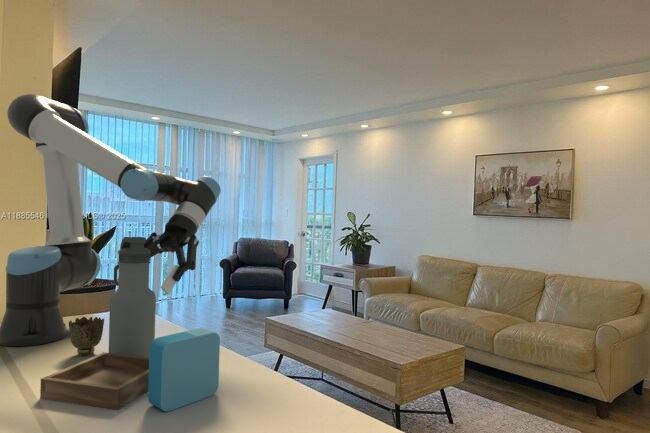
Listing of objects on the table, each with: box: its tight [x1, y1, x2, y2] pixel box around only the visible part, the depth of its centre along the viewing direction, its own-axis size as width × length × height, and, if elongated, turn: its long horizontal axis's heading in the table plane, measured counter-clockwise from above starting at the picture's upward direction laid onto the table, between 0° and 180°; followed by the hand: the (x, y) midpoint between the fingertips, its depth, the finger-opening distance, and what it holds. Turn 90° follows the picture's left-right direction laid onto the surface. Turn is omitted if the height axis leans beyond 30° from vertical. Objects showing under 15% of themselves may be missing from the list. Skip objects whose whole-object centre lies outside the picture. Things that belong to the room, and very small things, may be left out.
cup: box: [68, 316, 105, 356], centre depth 105 cm, size 8×7×8 cm
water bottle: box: [108, 236, 157, 358], centre depth 103 cm, size 10×10×28 cm
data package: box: [147, 327, 221, 413], centre depth 82 cm, size 12×4×12 cm, turn 141°
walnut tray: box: [39, 352, 149, 411], centre depth 86 cm, size 16×16×4 cm
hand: (141, 288), depth 104 cm, fingers open, 13 cm apart
